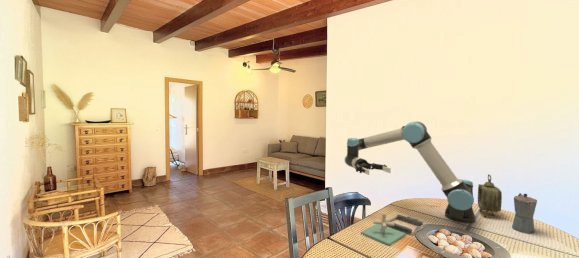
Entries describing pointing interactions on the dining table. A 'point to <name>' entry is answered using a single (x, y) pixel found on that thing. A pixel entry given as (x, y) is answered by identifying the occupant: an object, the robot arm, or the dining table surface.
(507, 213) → the dining table surface
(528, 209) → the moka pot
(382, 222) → the pipe connector
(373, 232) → the teal board
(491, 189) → the olive green lantern
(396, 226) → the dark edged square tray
